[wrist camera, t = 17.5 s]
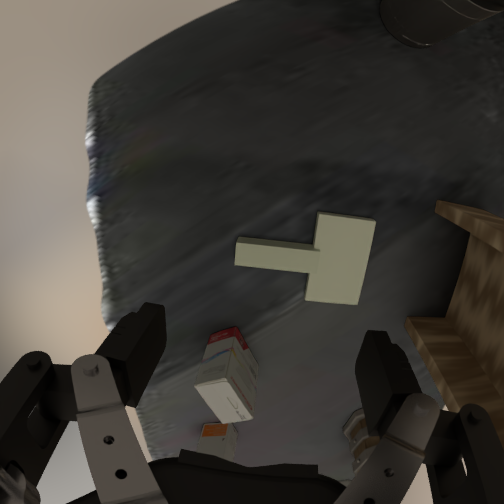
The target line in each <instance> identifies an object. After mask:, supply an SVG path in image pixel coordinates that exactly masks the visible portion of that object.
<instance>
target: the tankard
mask: <svg viewBox="0 0 504 504" xmlns="http://www.w3.org/2000/svg"><path fill="white" fill-rule="evenodd" d="M343 432H344V434H345V436H346V437H347V438H348V440H349V441H350V443H349V446H350V452H351V453H352V454H353V456H354V457H355V461H354V462H353V463H352V465H353V472H354V473H355V476H356V475H357V473H358V472H359V471H360V469H361V468H362V466H363V465H364V464H365V462H366V461H367V459H368V458H369V457H370V455H371V454H372V452H373V451H374V449H375V448H376V446H377V445H378V443H379V442H380V438H379V436H370V437H369V435H368V430H367V425H366V420H365V416H364V411H363V408H362V409H360V410H357V411H355V412H354V413H353V415H352V416H351V417H350V419H349V420H348V422H347V423H346V424H345V426H344V427H343Z"/></svg>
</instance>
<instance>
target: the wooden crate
mask: <svg viewBox="0 0 504 504" xmlns="http://www.w3.org/2000/svg"><path fill="white" fill-rule="evenodd" d="M435 213H437V214H439V215H440V216H442V217H444V218H446V219H448V220H449V221H451V222H453V223H455V224H456V225H458V226H460V227H461V228H463V229H465V230H467V231H468V232H470V237H469V241H468V245H467V249H466V253H465V257H464V260H463V264H462V267H461V271H460V274H459V278H458V281H457V284H456V287H455V290H454V293H453V296H452V299H451V302H450V305H449V308H448V311H447V313H446V316H445V318H442V317H413V316H407V319H406V322H405V325H404V327H405V329H406V330H407V332H408V334H409V336H410V337H411V339H412V341H413V343H414V345H415V346H416V348H417V350H418V352H419V354H420V355H421V357H422V359H423V361H424V363H425V365H426V367H427V369H428V370H429V372H430V374H431V376H432V378H433V380H434V382H435V384H436V386H437V388H438V390H439V392H440V394H441V396H442V398H443V400H444V402H445V404H446V406H447V408H448V410H449V411H451V412H456V413H458V412H459V410H460V409H461V408H462V406H464V405H465V404H469V403H472V404H477V405H479V406H481V407H483V408H484V409H485V410H486V411H487V413H488V414H489V416H490V419H491V421H492V423H493V425H494V428H495V430H496V432H497V435H498V437H499V439H500V442H501V444H502V447H503V449H504V219H502V218H500V217H498V216H496V215H494V214H492V213H489V212H487V211H485V210H482V209H478V208H474V207H469V206H465V205H460V204H456V203H451V202H446V201H441V200H437V202H436V208H435Z"/></svg>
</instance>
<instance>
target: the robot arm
mask: <svg viewBox="0 0 504 504" xmlns="http://www.w3.org/2000/svg"><path fill="white" fill-rule="evenodd" d="M503 10H504V0H382V1H381V4H380V15H381V19H382V21H383V23H384V25H385V27H386V28H387V30H388V31H389V32H390V33H391V34H392V35H393V36H394V37H395V38H396V39H398V40H399V41H401V42H402V43H404V44H406V45H408V46H411V47H415V48H427V47H430V46H432V45H434V44H436V43H438V42H440V41H441V40H444V39H446V38H448V37H449V36H451V35H453V34H455V33H457V32H459V31H461V30H463V29H465V28H467V27H469V26H471V25H473V24H476V23H478V22H480V21H482V20H484V19H486V18H488V17H490V16H492V15H495V14H497V13H499V12H501V11H503ZM166 341H167V334H166V319H165V308H164V306H163V305H159V304H153V303H148V302H145V303H144V304H143V305H142V307H141V308H140V309H139V311H138V312H137V313H135V312H131V313H129V314H127V315H126V316H124V317H122V318H121V320H120V321H119V322H118V323H117V325H116V327H114V329H113V330H112V331H111V333H110V334H109V335H108V336H107V338H106V339H105V340H104V342H103V343H102V344H101V346H100V347H99V348H98V350H97V351H96V352H95V354H89V355H84V356H81V357H79V358H78V359H76V360H75V361H74V363H73V364H72V365H59V364H53V363H52V361H51V358H50V356H49V355H48V354H47V353H44V352H42V351H33V352H29V353H27V354H25V355H24V356H22V357H21V358H20V359H19V361H18V362H17V363H16V364H15V365H14V367H13V368H12V369H11V370H10V372H9V373H8V374H7V375H6V377H5V378H4V379H3V380H2V382H1V383H0V504H40V501H41V500H40V494H39V492H38V490H37V488H36V487H37V484H38V482H39V480H40V478H41V476H42V474H43V472H44V470H45V468H46V466H47V464H48V462H49V459H50V457H51V456H52V454H53V452H54V450H55V448H56V446H57V444H58V442H59V440H60V438H61V436H62V434H63V432H64V431H65V429H66V427H67V425H68V423H69V421H77V422H78V426H79V430H80V435H81V438H82V443H83V447H84V450H85V454H86V458H87V461H88V465H89V468H90V472H91V475H92V478H93V481H94V484H95V487H96V490H95V491H92V492H90V493H89V494H86V495H84V496H82V497H80V498H78V499H75V500H73V501H71V502H69V503H67V504H400V503H401V501H402V500H403V498H404V496H405V494H406V492H407V491H408V489H409V487H410V485H411V483H412V481H413V480H414V478H415V476H416V473H417V472H418V470H419V468H420V466H421V464H422V463H423V464H426V468H427V473H428V478H429V482H430V488H431V492H432V498H433V504H504V449H503V447H502V444H501V442H500V439H499V437H498V435H497V432H496V430H495V428H494V425H493V423H492V421H491V419H490V416H489V414H488V413H487V411H486V410H485V409H484V408H483V407H481V406H479V405H477V404H472V403H469V404H465V405H464V406H462V408H461V409H460V410H459V412H458V413H456V412H451V411H445V410H441V409H440V407H439V405H438V403H437V402H436V400H434V399H433V398H432V397H430V396H429V395H426V394H423V393H422V391H421V388H420V386H419V384H418V381H417V379H416V377H415V374H414V372H413V370H412V367H411V365H410V363H408V358H407V356H406V354H405V352H404V351H403V350H402V349H401V348H400V347H399V346H398V345H397V344H392V343H391V340H390V338H389V336H388V333H387V332H386V331H375V330H368V331H367V332H366V334H365V337H364V340H363V343H362V346H361V349H360V351H359V354H358V357H357V360H356V365H355V375H356V380H357V384H358V388H359V393H360V397H361V402H362V406H363V411H364V416H365V420H366V425H367V430H368V435H369V437H370V436H379V438H380V442H379V443H378V445H377V446H376V448H375V449H374V451H373V452H372V454H371V455H370V457H369V458H368V459H367V461H366V462H365V464H364V465H363V466H362V468H361V469H360V471H359V472H358V473H357V475H356V476H355V477H354V479H353V480H352V481H351V482H350V484H349V485H348V486H347V487H346V486H345V485H343V484H342V483H340V482H338V481H337V480H335V479H332V478H330V477H327V476H324V475H321V474H318V465H305V464H285V463H284V464H277V465H269V466H260V467H245V466H242V465H239V464H236V463H234V462H231V461H228V460H225V459H223V458H220V457H217V456H215V455H210V454H204V453H199V452H194V451H189V450H184V449H181V451H180V454H179V457H172V458H164V459H158V460H155V461H151V462H149V463H147V461H146V459H145V456H144V454H143V452H142V450H141V447H140V445H139V443H138V440H137V438H136V435H135V433H134V431H133V428H132V425H131V423H130V421H129V418H128V415H127V413H126V410H125V406H126V405H127V406H130V407H134V408H136V407H137V405H138V403H139V400H140V398H141V396H142V394H143V392H144V390H145V388H146V386H147V384H148V382H149V380H150V378H151V376H152V374H153V372H154V370H155V368H156V366H157V364H158V362H159V360H160V358H161V356H162V354H163V352H164V350H165V347H166ZM35 406H36V407H35ZM34 407H35V408H34ZM33 409H34V410H33ZM32 410H33V411H32ZM31 412H32V413H31ZM30 413H31V414H30ZM29 415H30V416H29ZM28 417H29V418H28ZM462 458H464V462H465V465H466V469H467V476H466V473H465V470H464V466H463V463H462Z"/></svg>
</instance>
